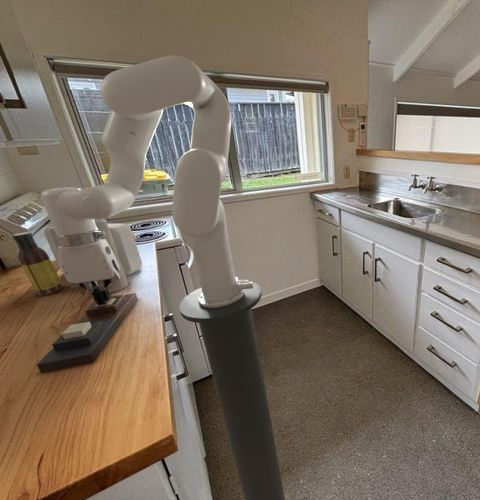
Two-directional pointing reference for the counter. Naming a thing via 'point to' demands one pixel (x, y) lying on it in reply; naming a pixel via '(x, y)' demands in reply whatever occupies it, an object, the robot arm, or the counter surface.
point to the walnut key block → (110, 309)
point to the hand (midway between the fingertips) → (104, 302)
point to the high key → (77, 330)
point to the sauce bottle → (37, 265)
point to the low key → (107, 302)
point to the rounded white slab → (121, 241)
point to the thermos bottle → (122, 282)
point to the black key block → (78, 347)
